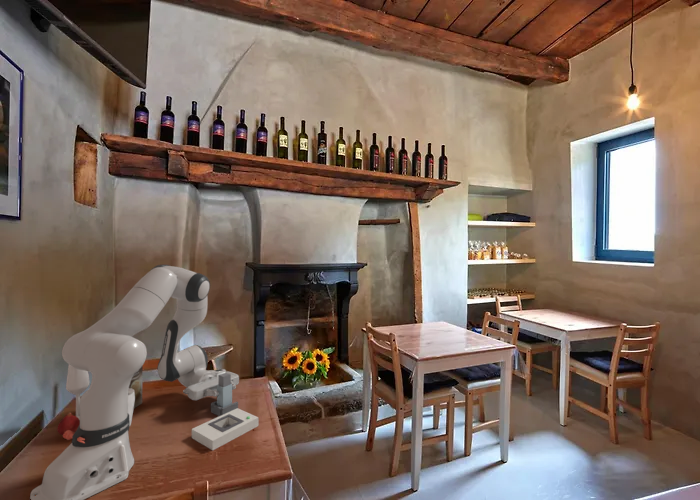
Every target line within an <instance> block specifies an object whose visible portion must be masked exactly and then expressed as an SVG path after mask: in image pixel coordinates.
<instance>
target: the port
mask: <svg viewBox="0 0 700 500" xmlns="http://www.w3.org/2000/svg"><path fill="white" fill-rule="evenodd" d="M259 422H260V421H259V417H258V416H256V415H254V414H252V413H249V412H247V411H244V409H243V410H242V409H240V408H239V407H238V408H237V409H234V410H232V411H230V412H228V413H226V414H223V415H221V416H217V417H214V418H213V419H210V420H208V421H206V422H204V423H202V424H200V425H197V426H195V427H193V428H191V439H193V440H194V441H196V442H198V443H199V444H201V445H202V446H204V447H206V448H208V449H209V450H211V451H215V450H216V449H218V448H219V447H222V446H224V445H226V444H228V443H229V442H231V441H233V440H235V439H237V438H238V437H241V436H242V435H245V434H246V433H248V432H250V431H251V430H253V429H255V428H257V427H259V425H260V424H259Z"/></svg>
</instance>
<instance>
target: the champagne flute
mask: <svg viewBox="0 0 700 500" xmlns="http://www.w3.org/2000/svg"><path fill="white" fill-rule="evenodd" d="M67 367H68V368H67V375H66V383H65V384H66V385H65V388H66V391H67V392H69V393H70V394H72V395H73V396H75V416H76V417H78V418H79V420H80V398H81V394H84V393H85V392H86V391H87V390H88V387H90V384H91V381H90V376H89V375H90V374H89V371H84V370H79V369H76V368H74V367H73V366H71V365H69V364H68V366H67Z"/></svg>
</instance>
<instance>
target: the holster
mask: <svg viewBox="0 0 700 500" xmlns="http://www.w3.org/2000/svg"><path fill="white" fill-rule="evenodd" d="M237 408H238V409H239V401H234V402H232V404H230V405H228V406H225V407H223V408H222V407H220V406H218V405H217V400H216V401H213V402H210V413H211V414H214V415H215V416H217V417H219V416H221V415H223V414H226V413H228V412H230V411H232V410H234V409H237Z"/></svg>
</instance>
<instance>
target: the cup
mask: <svg viewBox="0 0 700 500" xmlns="http://www.w3.org/2000/svg"><path fill="white" fill-rule="evenodd" d="M134 402H135V393H134V389H132V388H129V390H128V414H129V421H130V426H131V425H132V420H133V413H134V409H135V408H134ZM133 408H134V409H133Z"/></svg>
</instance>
